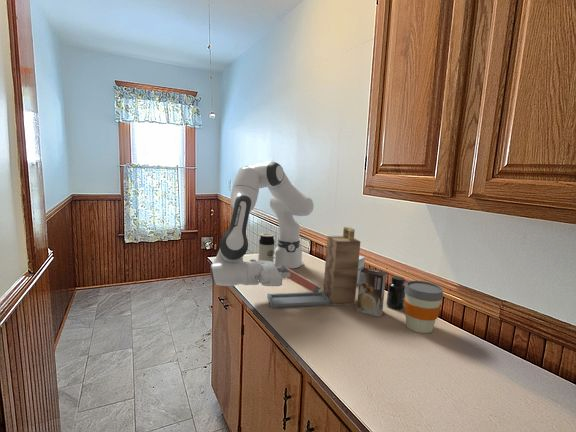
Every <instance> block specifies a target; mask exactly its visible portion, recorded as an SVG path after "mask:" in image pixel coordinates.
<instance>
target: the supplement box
mask: <svg viewBox="0 0 576 432" xmlns="http://www.w3.org/2000/svg"><path fill="white" fill-rule="evenodd" d="M365 262H366V256H363V255H359V263H358V273H357V284H356V286H357V285H359V277H360V271H361V270H362V269H363V268H365V264H366V263H365Z"/></svg>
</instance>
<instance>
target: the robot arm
mask: <svg viewBox="0 0 576 432" xmlns="http://www.w3.org/2000/svg"><path fill="white" fill-rule="evenodd" d="M264 188H267V189H268V191H269V192H270V194H271V195H272V196H271V197H270V199H269V206H270V209H271V210H272V211H273V213H274V214H275V216H276V218H277V220H278V221H277V222H278V226H279V227H278V239H277V246H276V247H275V248H274V260H273V262H272V261H265V260H257V259H255V258H253V259H252V258H251V259H250V260H249V261H244V256H245V254H246V253H247V251H248V249H249V240H248V236H247V227H248V222H249V216H250V213H251V211H253V210H254V209H255V207H256V203H257V201H258V197H259V194H260V189H264ZM230 206H231V207H232V214H231V218H230V222H229V226H228V229H227V230H226V232H225V233H224V234H223V235H222V237H221V239H220V241H219V250H218V252H217V254H216V256H215V259H214V261H213V262H212V264H210V267H209V270H210V278H211V281H212V283H214V285H217V286H223V287H224V286H225V287H231V286H232V287H234V286H235V287H236V286H239V285H243V286H258V285H259V284H261V286H264V287H280V286H282V285H283V279H285V278H286V277H290V272H284V273H282V272H279V270H280V268H281V267H282V265H283V266H285V267H287V268H288V269H297V268H299V267H301V266H305V263H304V261H303V250H302V249H301V248H300V247H301V241H300V234H301V233H300V232H301V227H300V224H299V222H297V221H296V220H295V219H294V216H296V217H307V216H309V215H311V214H312V213H313V210H314V207H315V206H314V202H313V199H312V198H311V197H309V196H307V195H305V194H304V193H302V192H301V191H300V190H299V189H297V188H296V187H295V186H294V185H293V184H292V182H291V181H290V179H289V178H288V176H287V174H286V172H285V171H284V168H283V167H282V165H281V164H280V163H278V162H276V161H274V160H267V161H265V162H258V163H255V164H251V165H245V166H243V167H240V168H239V170H238V171H237V174H236V176H235V179H234V181H233V183H232V188H231V193H230Z"/></svg>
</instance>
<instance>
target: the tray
mask: <svg viewBox="0 0 576 432" xmlns="http://www.w3.org/2000/svg"><path fill="white" fill-rule="evenodd" d="M266 297H267V300H268V302H269V305H270V306H271V309H278V308H279V309H281V308H282V309H283V308H299V307H301V308H302V307H303V308H304V307H321V306H332V305H331V300H330V299H329V298H328V297H327V296H326V295H325V294H324V292H323V291H319V292H318V293H317V294H315V293H313V292H312V291H307V292H286V293H285V292H283V293H281V292H280V293H267V296H266Z"/></svg>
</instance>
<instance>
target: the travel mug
mask: <svg viewBox="0 0 576 432" xmlns="http://www.w3.org/2000/svg"><path fill="white" fill-rule="evenodd" d="M259 236H260V238H259V239H258V255H257V256H258V260H265V261H272V262H273V260H274V256H275V255H274V251H275V239H274V237H275V234H273V233H271V232H262V233H259Z"/></svg>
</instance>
